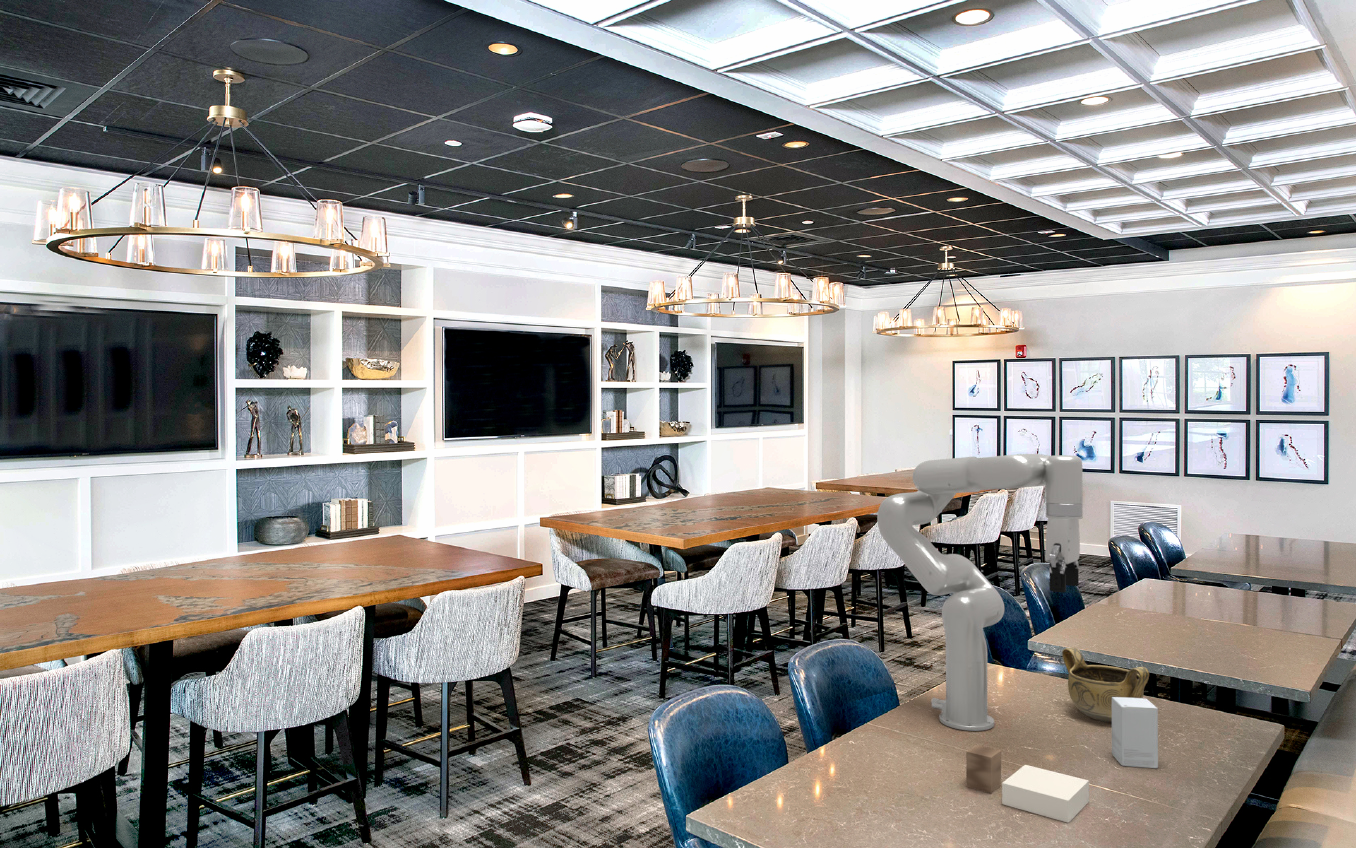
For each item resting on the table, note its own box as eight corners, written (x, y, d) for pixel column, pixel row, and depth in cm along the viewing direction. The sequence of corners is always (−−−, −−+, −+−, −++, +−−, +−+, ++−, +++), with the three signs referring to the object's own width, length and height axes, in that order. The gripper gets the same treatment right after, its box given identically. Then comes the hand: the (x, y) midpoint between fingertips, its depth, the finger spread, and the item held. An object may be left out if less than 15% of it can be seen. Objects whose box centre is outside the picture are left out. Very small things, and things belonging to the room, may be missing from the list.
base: (1002, 804, 167) (1002, 783, 167) (1025, 784, 176) (1025, 764, 176) (1068, 823, 159) (1068, 800, 159) (1089, 801, 168) (1088, 780, 168)
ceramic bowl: (1043, 709, 223) (1043, 650, 223) (1090, 700, 230) (1089, 643, 230) (1122, 737, 203) (1121, 672, 203) (1170, 726, 210) (1170, 663, 210)
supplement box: (1159, 769, 184) (1158, 708, 184) (1120, 766, 185) (1120, 706, 185) (1147, 756, 191) (1147, 697, 191) (1110, 753, 193) (1110, 695, 193)
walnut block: (966, 786, 175) (966, 751, 175) (976, 779, 179) (976, 744, 179) (991, 793, 172) (991, 757, 172) (1001, 785, 175) (1001, 750, 175)
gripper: (1057, 507, 204) (1058, 581, 204) (1033, 513, 191) (1034, 592, 191) (1092, 509, 200) (1093, 585, 199) (1070, 515, 186) (1071, 596, 186)
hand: (1064, 588), depth 195 cm, fingers open, 9 cm apart
